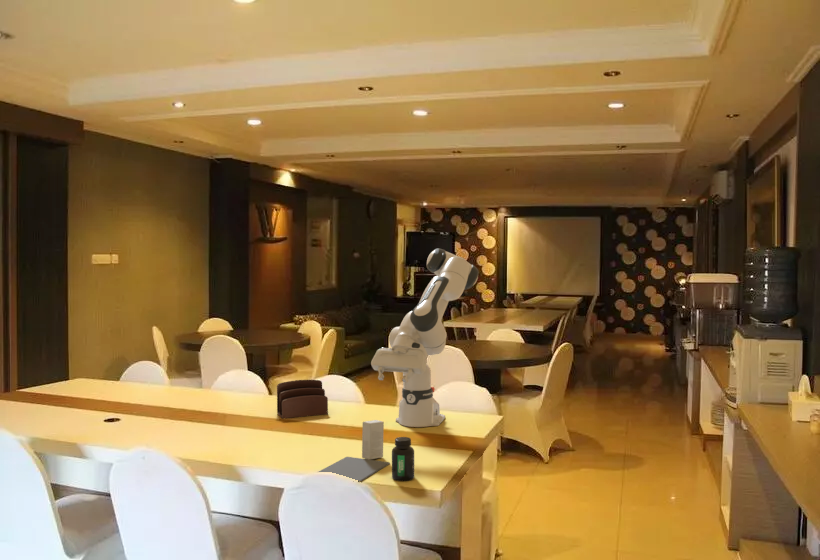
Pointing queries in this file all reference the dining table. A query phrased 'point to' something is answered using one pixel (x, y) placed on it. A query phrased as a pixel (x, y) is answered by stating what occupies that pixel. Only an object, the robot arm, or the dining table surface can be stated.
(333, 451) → the dining table surface
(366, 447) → the skincare box
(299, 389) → the letter holder
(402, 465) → the supplement bottle
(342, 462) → the mat
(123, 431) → the dining table surface
